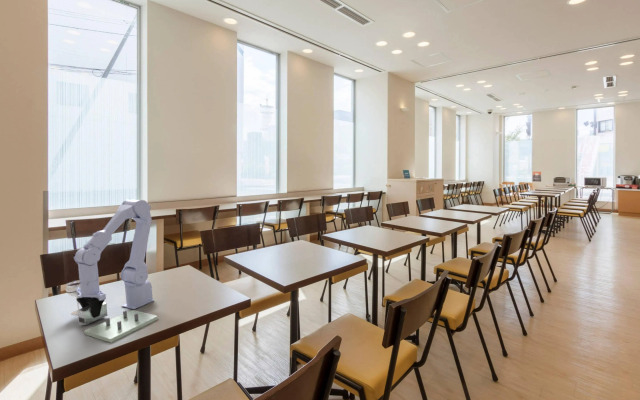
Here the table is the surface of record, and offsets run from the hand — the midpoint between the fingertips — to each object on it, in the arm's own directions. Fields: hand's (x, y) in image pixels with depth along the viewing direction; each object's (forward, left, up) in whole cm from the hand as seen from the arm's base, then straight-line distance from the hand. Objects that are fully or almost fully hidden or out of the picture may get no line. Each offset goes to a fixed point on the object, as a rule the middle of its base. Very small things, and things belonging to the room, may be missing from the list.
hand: (92, 315), depth 123 cm
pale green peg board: (-2, +14, -2) cm, 14 cm away
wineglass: (-3, -14, -3) cm, 15 cm away
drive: (0, 0, -2) cm, 2 cm away
